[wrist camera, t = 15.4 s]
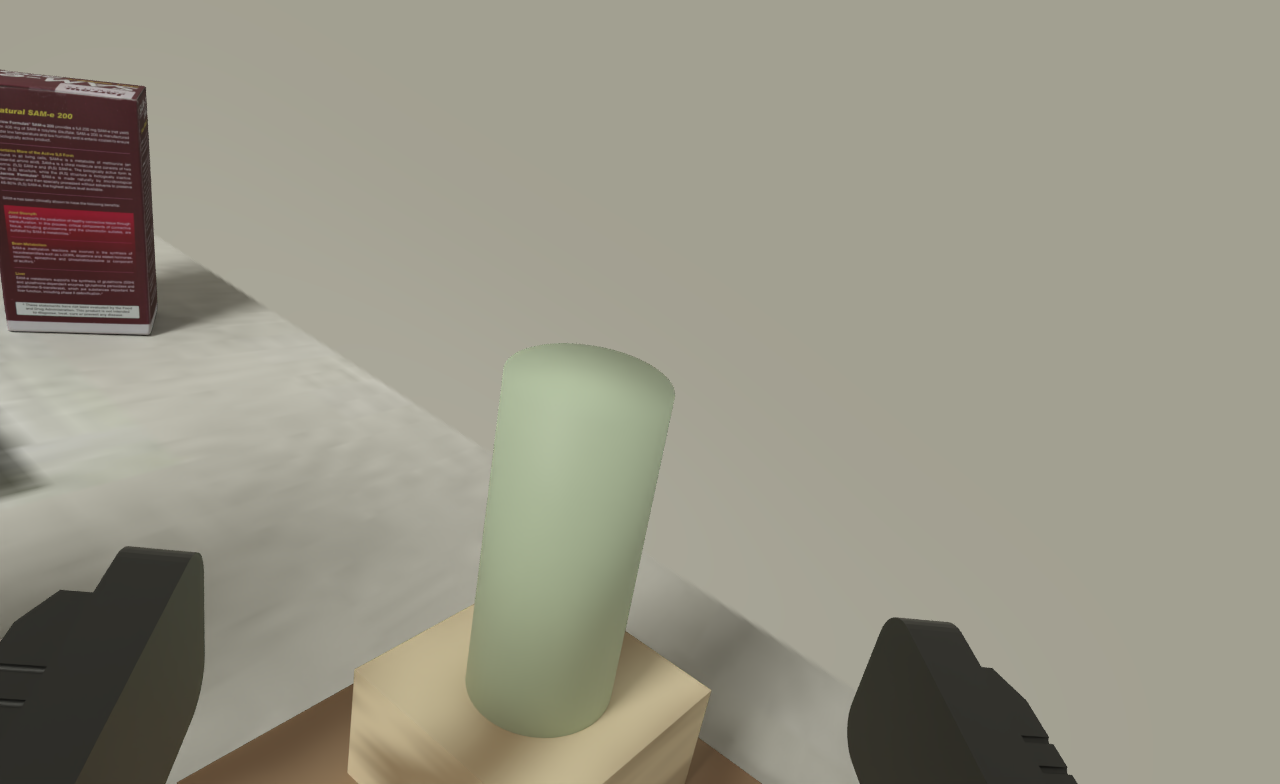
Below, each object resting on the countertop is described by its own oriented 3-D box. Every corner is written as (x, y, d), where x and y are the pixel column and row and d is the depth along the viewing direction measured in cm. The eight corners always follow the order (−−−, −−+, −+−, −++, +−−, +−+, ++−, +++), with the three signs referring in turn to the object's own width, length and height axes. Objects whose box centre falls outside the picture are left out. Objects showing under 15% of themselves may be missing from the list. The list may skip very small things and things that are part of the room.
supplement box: (159, 309, 68) (150, 84, 62) (151, 337, 64) (141, 100, 58) (19, 303, 65) (-7, 65, 58) (2, 332, 61) (-28, 81, 54)
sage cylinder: (433, 678, 33) (466, 368, 28) (534, 612, 37) (579, 331, 32) (544, 764, 30) (602, 441, 25) (640, 684, 34) (707, 391, 29)
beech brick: (347, 772, 35) (354, 669, 33) (521, 661, 42) (536, 569, 39) (520, 942, 30) (542, 835, 28) (683, 786, 37) (711, 690, 35)
